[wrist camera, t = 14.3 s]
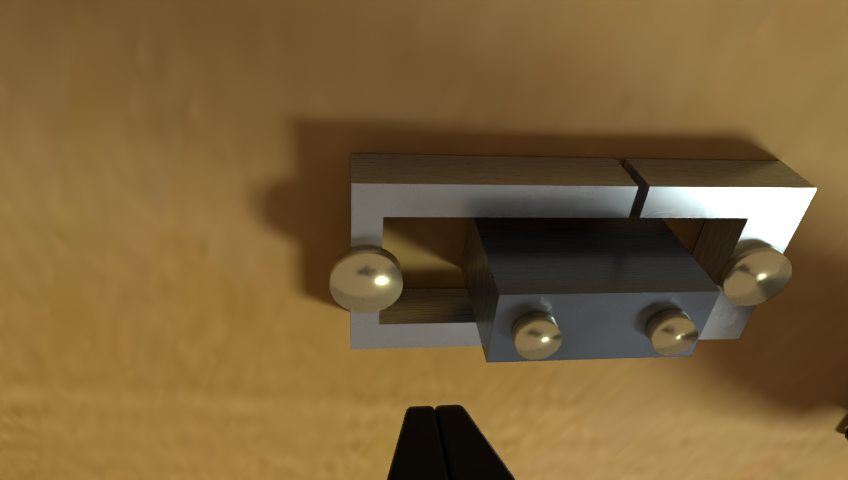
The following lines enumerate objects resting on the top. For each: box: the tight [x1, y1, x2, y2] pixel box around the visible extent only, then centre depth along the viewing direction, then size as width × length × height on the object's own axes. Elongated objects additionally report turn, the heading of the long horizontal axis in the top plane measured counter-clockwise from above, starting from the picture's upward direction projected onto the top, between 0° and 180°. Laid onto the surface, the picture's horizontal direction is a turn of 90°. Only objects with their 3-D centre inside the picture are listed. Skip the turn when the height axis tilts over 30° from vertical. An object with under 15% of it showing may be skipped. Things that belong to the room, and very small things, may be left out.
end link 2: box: [623, 158, 817, 340], centre depth 22 cm, size 6×7×3 cm
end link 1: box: [330, 154, 638, 349], centre depth 21 cm, size 10×7×3 cm
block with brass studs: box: [461, 208, 721, 362], centre depth 20 cm, size 7×3×6 cm, turn 86°
